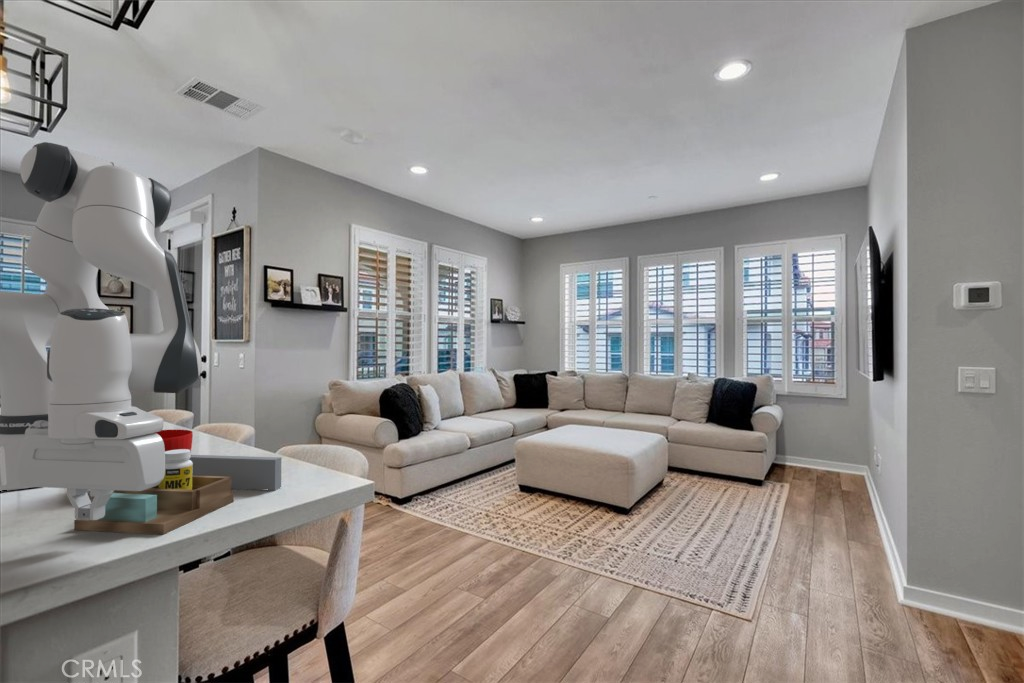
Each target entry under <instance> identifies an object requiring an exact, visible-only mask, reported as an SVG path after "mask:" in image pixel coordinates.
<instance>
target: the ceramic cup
mask: <svg viewBox="0 0 1024 683" xmlns="http://www.w3.org/2000/svg"><path fill="white" fill-rule="evenodd" d="M155 433H157V434H158V435H160V436H161V438H162V439H163V442H164V448H165V452H166V451H170V450H178V449H188V450H190V454H192V453H191V452H192V447H193V431H192V430H188V429H162V430H161V431H159V432H155Z"/></svg>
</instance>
